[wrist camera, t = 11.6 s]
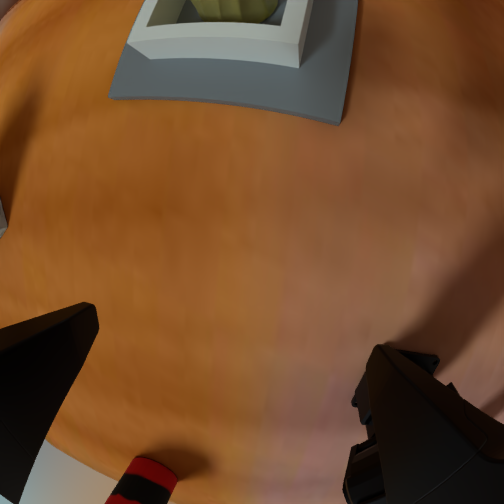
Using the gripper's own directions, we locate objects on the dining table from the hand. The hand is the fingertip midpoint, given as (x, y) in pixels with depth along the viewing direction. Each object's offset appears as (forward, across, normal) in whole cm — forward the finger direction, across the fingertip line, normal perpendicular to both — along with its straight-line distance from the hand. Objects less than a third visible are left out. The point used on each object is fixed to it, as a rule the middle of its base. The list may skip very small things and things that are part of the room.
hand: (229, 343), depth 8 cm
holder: (+14, +3, -18) cm, 23 cm away
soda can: (+10, +10, +38) cm, 40 cm away
